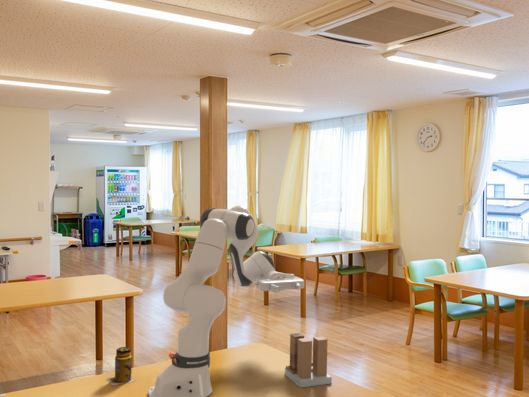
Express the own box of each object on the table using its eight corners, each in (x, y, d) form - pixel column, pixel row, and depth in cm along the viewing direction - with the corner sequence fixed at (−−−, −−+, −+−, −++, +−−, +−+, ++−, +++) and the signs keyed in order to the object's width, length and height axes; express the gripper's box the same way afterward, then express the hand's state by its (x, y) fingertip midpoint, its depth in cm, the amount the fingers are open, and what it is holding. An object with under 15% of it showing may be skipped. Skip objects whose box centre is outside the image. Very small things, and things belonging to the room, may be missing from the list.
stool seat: (300, 387, 186) (301, 343, 186) (285, 374, 199) (286, 333, 199) (331, 383, 191) (332, 340, 191) (314, 370, 204) (315, 330, 204)
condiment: (134, 381, 189) (135, 349, 189) (112, 386, 185) (112, 353, 184) (128, 375, 195) (129, 344, 195) (106, 379, 191) (107, 348, 190)
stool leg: (293, 372, 194) (294, 336, 194) (289, 369, 198) (290, 333, 198) (303, 371, 196) (304, 335, 196) (298, 368, 200) (299, 333, 199)
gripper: (253, 275, 219) (265, 281, 206) (296, 273, 227) (310, 279, 214) (253, 290, 220) (265, 297, 207) (295, 287, 227) (309, 294, 214)
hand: (288, 288), depth 210 cm, fingers open, 8 cm apart
